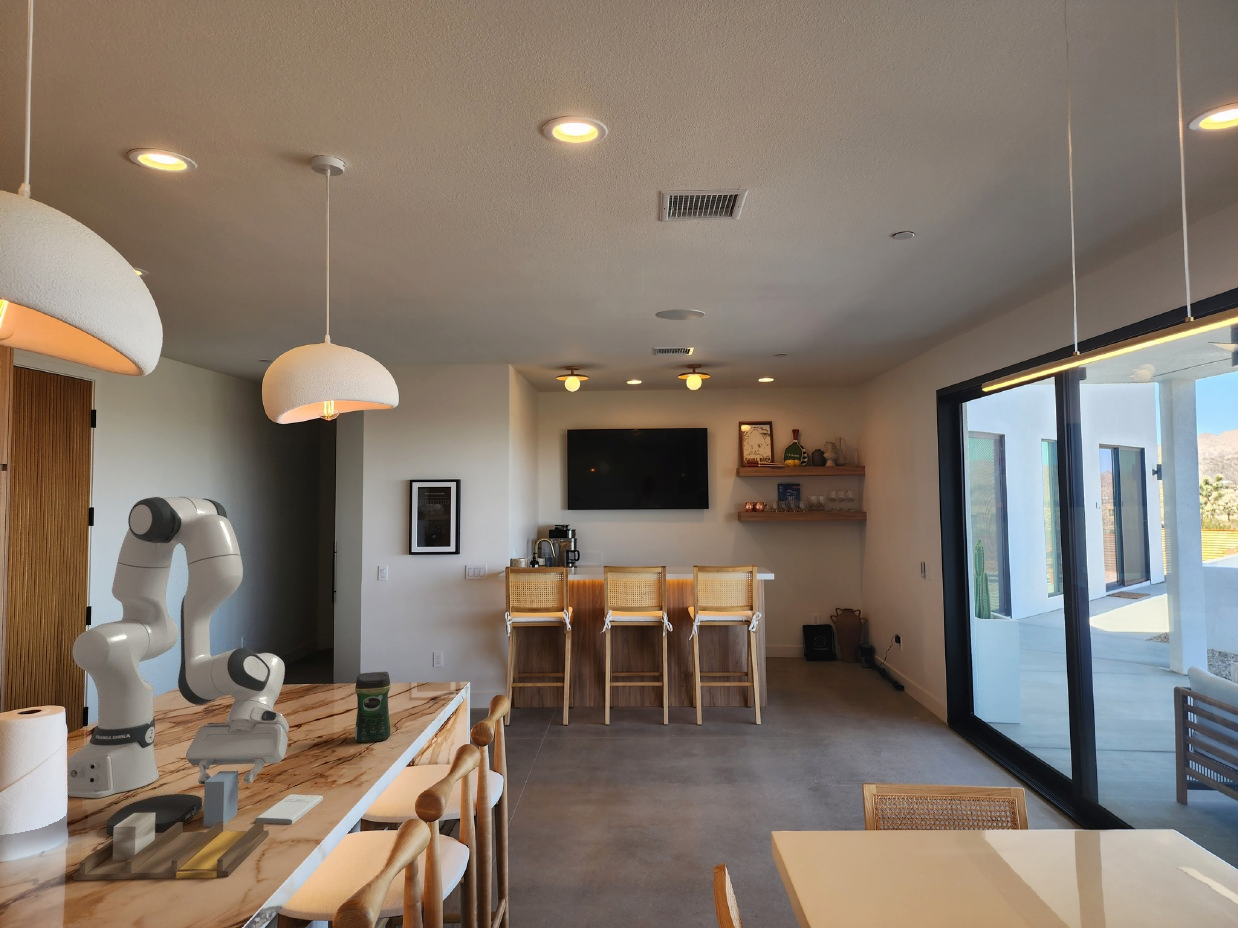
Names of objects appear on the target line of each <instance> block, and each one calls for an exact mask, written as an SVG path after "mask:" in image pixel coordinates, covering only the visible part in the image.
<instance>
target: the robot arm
mask: <svg viewBox="0 0 1238 928" xmlns="http://www.w3.org/2000/svg"><path fill="white" fill-rule="evenodd" d="M127 522H128V530H127V531H126V534H125V537H124V539H123V541H122V543H121V547H120V550H119V554H118V558H117V562H116V563H117V564H116V568H115V572H114V573H115V574H114V578H113V582H112V588H111V594H112V596H113V597H114V599H116V600H117V601H119V602H120V603H121V606H122V617H121V620H116V621H111V622H106V623H101V624H98V625H96V626H94V627H92V628H89V629H88V630H85V631H83V632H82V633H80V634H79V635H78V636H77V638H76V639H75V640H74V642H73V647H72V657H73V660H74V662H75V664H76V665H77V666H78V668H80V669H82V670H83V671H85V672H86V673H87V674H88V675H89V676H90V677H91V680H93V683H94V685H95V688H96V692H97V704H98V705H97V707H98V709H97V710H98V711H97V713H98V714H97V717H98V718H97V725H95V727H92V728H91V729H89V730H87V731H85V733H86V734H85V737H86V738H87V737H88V736H91V737H90V738H89V741H88V743H87V744H85V745H84V746H83V747H81V748H80V749H79V750H77V751H76V752H75V753H74V754H72V755H71V756H69V758H67V759H68V795H69V796H68V797H74V798H75V797H77V798H90V799H91V798H92V799H94V798H95V799H100V798H105V797H108V796H111V795H114V794H118V793H122V792H127V791H132V790H135V789H139V788H142V787H145V786H147V785H149V784H151V783H153V782H155V781H157V780H158V779H159V777H160V773H159V771H158V766H157V762H156V756H155V748H154V747H155V746H154V745H155V744H154V742H155V735H156V719H155V717H154V702H155V701H154V700H155V689H154V686H153V685H152V683H151V682H149V681H147V680H146V679H143V677H142V674H141V672H140V667H139V666H140V665H139V663H140V662H144V661H148V660H151V659H155V658H157V657H160V656H162V655H163V654H165V653H166V652H168V651H170V650H171V649H173V647H174V646H176V643H177V642H178V640H179V627H178V625H177V623H176V621H174V620H173V619H172V618H171V617H170V615H169V612H168V607H167V598H166V597H167V588H168V582H169V577H170V573H171V572H170V571H171V567H172V563H173V562H172V561H173V555H174V552H175V551H174V550H175V549H176V546H177V545H179V544H180V545H181V546H183V548H184V551H185V555H186V564H187V571H188V572H187V573H188V575H187V576H188V578H187V587H186V591H185V594H184V596H183V597H182V601H181V604H180V667H179V671H178V672H179V673H178V677H177V686H178V690H179V693H180V695H181V696H182V697H183V699H185V700H186V702H189V704H192V705H196V706H202V705H206V704H208V703H210V702H213V701H216V700H217V699H221V698H223V697H227V696H230V697H232V698H234V701H233V703H232V705H231V707H230V710H229V713H228V715H227V718H226V721H225V722H224V721H223V722H222V721H221V722H207V723H206V724H204V725H202V726H201V727H199V728H198V730H197V731H196V734H195V737H194V738H193V740H192V741H191V742H190V745H189V747H188V749H187V751H186V753H185V758H186V760H187V761H188V763H189V764H190V765H191V766H198V768H199V773H200V775H199V778H198V780H197V781H198V784H199V785H205V781H207V780H208V779H210V778H211V777H212V776H211V775H210V774H209V773H208V772H207V770H210V768H211V766H226V765H227V766H229V765H231V766H232V765H254V766H253V767H252V768H251V769H250V771H245V773H244V776H243V782H244V783H245V784H252V783H253V782H254V780H255V778H256V776H257V775H259V773H260V772H262V769H264V767H265V764H279V763H280V762H281V761H282V760H284V758H285V756H286V752H287V748H288V742H289V738H288V735H287V734H288V733H289V731H290V726H289V724H288V721H287V719H286V718H285V716H284V715H283V714H282V713H281V712H278V711H275V710H274V705H275V703H276V701H277V700H278V698H279V696H280V694H281V690H282V686H283V684H284V679H285V672H286V667H285V663H284V661H283V660H282V659H281V658H280V657H279V656H277V655H276V654H274V653H271V652H270V653H269V652H262V653H256V652H255V651H253V650H252V649H250V648H246V647H239V648H234V649H231V650H228V651H224V652H221V653H219V654H215V655H211V634H210V633H211V632H210V630H211V629H210V627H211V626H210V625H211V624H210V622H211V620H212V617H213V615H214V613H215V612H216V610H217V609H218V608H219V607H220V606H221V605H222V604H223V603H224V602H225V601H226V600H227V599H229V598H230V597H231V596H232V595H234V593H235V592H236V591H237V590H238V588H239V587H240V585H241V583H242V582H243V576H244V566H243V561H242V556H241V555H242V554H241V550H240V546H239V543H238V540H237V539H238V538H237V536H236V534H235V531H234V529H233V528H234V527H233V525H232V523H231V522H230V520H229V519H228V514H227V511H226V508H225V507H224V506H223V505H222V504H221V503H220V502H218V501H216V500H213V499H210V498H197V497H192V496H177V497H175V496H171V497H170V496H169V497H160V496H152V497H147V498H143V499H140V500H139V501H136V503H135V504H133V506H132V508H131V509H130V512H129V514H128V520H127Z"/></svg>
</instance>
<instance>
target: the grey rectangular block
mask: <svg viewBox="0 0 1238 928" xmlns="http://www.w3.org/2000/svg"><path fill="white" fill-rule="evenodd" d="M203 796H204V797H203V825H202V826H203V827H212V826H213V825H215V824H216V823H217V822H218V821H223V827H224V826H225V825H226V824H227V823H228V822H229V821H231V820H232V819H233V818H234V817H236V816H237V815H238V810H239V809H238V808H239V807H238V803H239V798H238V797H239V770H229V771H228V770H222V771H218V772H216V773H215V774H214V775H212V776H211V777H210V779H208V780H207V781H205V784H204V791H203Z"/></svg>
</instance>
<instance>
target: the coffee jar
mask: <svg viewBox="0 0 1238 928" xmlns="http://www.w3.org/2000/svg"><path fill="white" fill-rule="evenodd" d="M390 689H391V679H390V675H389V672H388V671H374V672H373V671H372V672H363V673H359V674H358V675H357V677H356V681H355V687H354V690H355V694H356V698H357V699H356V701H357V707H356V710H357V711H356V721H355V728H354V739H355V741H356V742H358V743H371V742H372V743H374V742H379V741H384V740H387V739H388V738H389V737H390V736H391V720H390V713H389V711H390V710H389V692H390Z"/></svg>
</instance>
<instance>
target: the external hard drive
mask: <svg viewBox="0 0 1238 928" xmlns="http://www.w3.org/2000/svg"><path fill="white" fill-rule="evenodd" d="M322 801H324V796H322V795H316V794H315V795H314V794H313V795H311V794H309V795H308V794H294V793H293V794H292V793H290V794H289V795H287V796H285V797H284V798H283V799H282V800H280V801H278V802H276V803H275V804H274V805H272V806H271V807H270V808H268V809H266V810H265V811H264V812H262V813H261V814H260V815H258V816H256V817H255V821H254V824H256V823H257V822H258V821H259V820H264V824H277V825H278V824H280V825H293V824H295V822H297V821H298V820H299V819H300V818H302V817H304V816H305V815H306V814H307V813H309V811H311V810H312V809H313V808H315V807H316V806H317V805H318V804H320V803H321V802H322Z"/></svg>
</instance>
